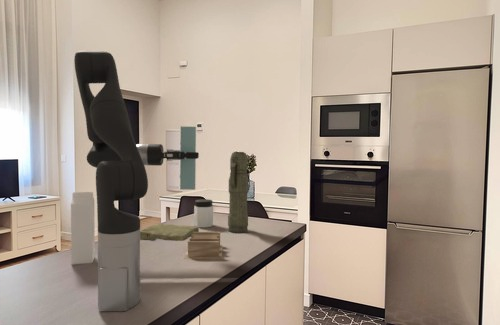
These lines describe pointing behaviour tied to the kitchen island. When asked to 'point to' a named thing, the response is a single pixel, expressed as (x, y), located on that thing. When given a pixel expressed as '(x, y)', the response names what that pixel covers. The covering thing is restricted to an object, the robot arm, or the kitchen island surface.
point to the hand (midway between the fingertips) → (197, 155)
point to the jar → (203, 213)
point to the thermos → (238, 193)
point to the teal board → (188, 164)
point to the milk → (82, 228)
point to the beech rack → (204, 246)
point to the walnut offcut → (204, 236)
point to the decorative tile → (167, 232)
